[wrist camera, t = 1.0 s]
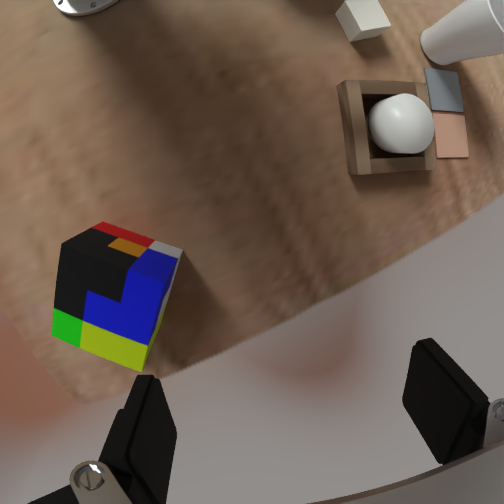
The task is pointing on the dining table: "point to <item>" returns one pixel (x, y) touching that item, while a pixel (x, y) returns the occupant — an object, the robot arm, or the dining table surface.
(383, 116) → the dome button
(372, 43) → the dining table surface
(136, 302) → the puzzle toy
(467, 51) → the drinking glass
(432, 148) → the button frame
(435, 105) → the pad mid
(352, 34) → the white cube
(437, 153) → the pad
